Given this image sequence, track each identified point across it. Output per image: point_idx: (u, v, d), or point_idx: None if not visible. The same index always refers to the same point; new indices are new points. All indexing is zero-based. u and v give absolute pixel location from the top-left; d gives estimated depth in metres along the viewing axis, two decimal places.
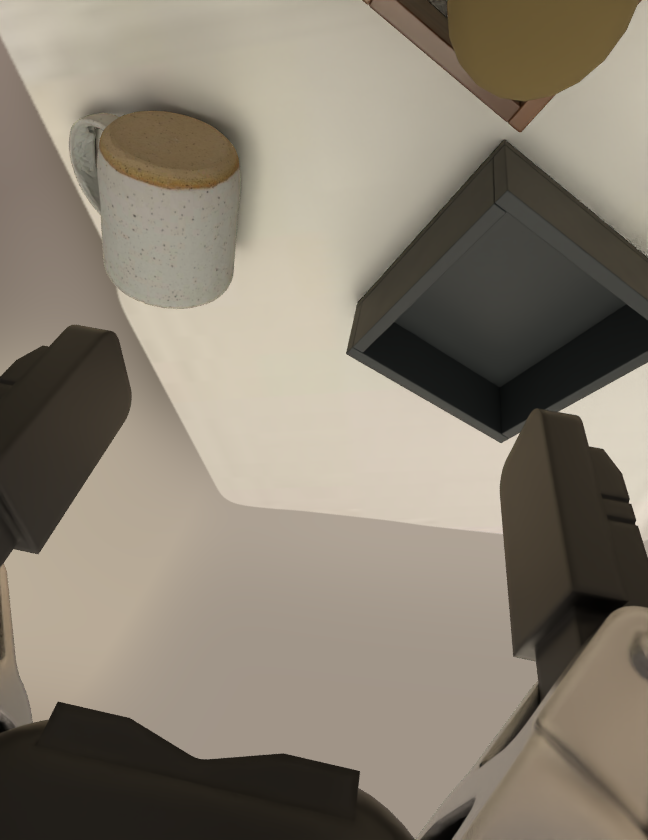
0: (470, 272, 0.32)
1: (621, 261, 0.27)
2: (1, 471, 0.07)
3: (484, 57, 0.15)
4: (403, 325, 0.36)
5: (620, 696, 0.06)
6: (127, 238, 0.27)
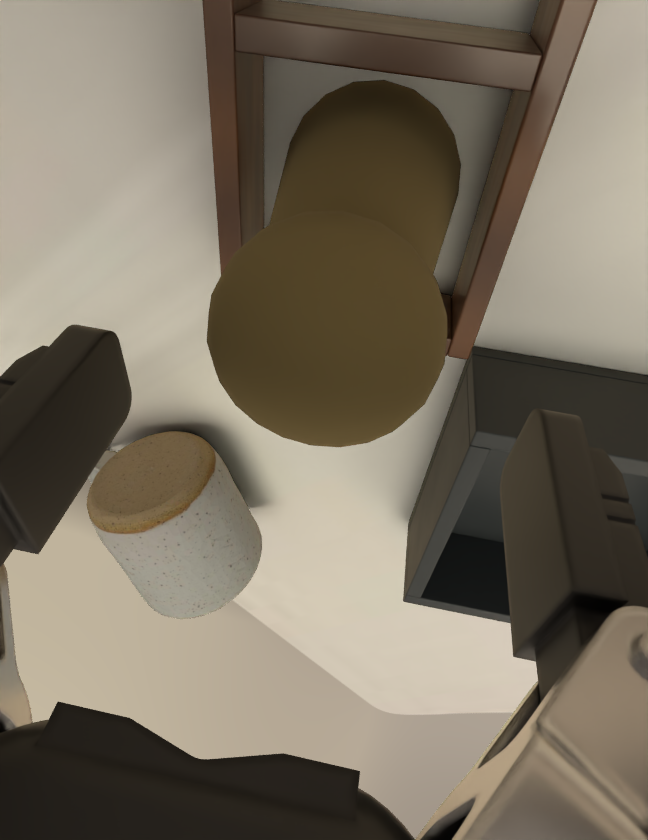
0: None
1: None
2: (1, 471, 0.07)
3: (286, 432, 0.12)
4: (469, 534, 0.30)
5: (620, 696, 0.06)
6: (133, 575, 0.26)
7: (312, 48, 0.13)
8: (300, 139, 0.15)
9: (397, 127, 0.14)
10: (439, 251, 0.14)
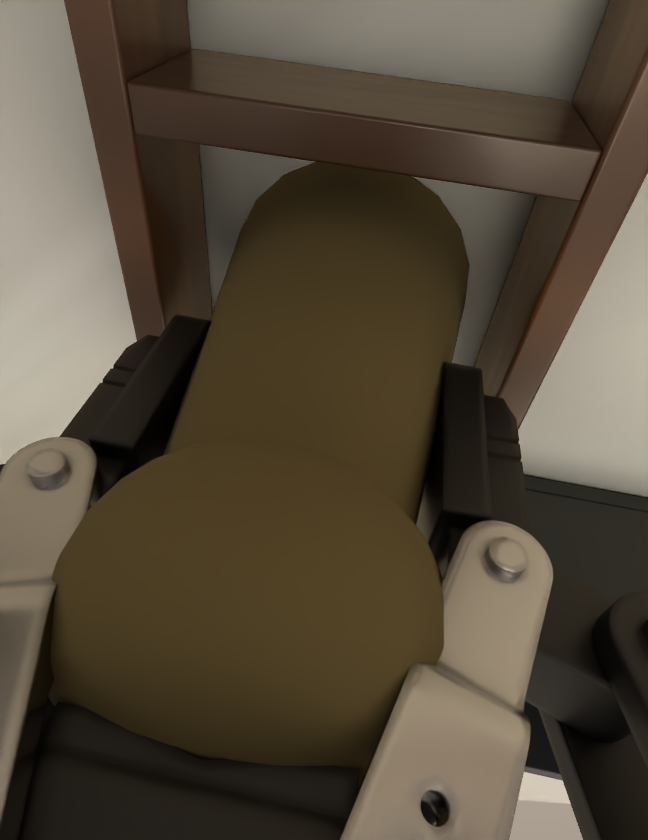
0: None
1: None
2: (139, 449, 0.08)
3: None
4: None
5: (465, 590, 0.06)
6: None
7: (247, 133, 0.09)
8: (244, 244, 0.11)
9: (379, 240, 0.10)
10: None
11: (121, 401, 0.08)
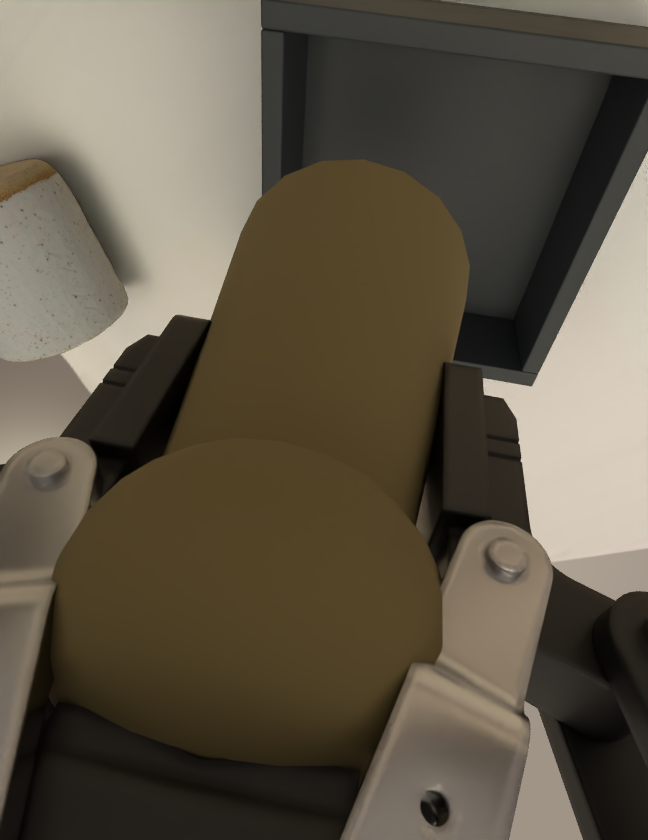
0: None
1: (513, 21, 0.17)
2: (139, 449, 0.08)
3: None
4: None
5: (464, 589, 0.06)
6: None
7: None
8: (245, 244, 0.11)
9: (379, 241, 0.10)
10: None
11: (121, 401, 0.08)
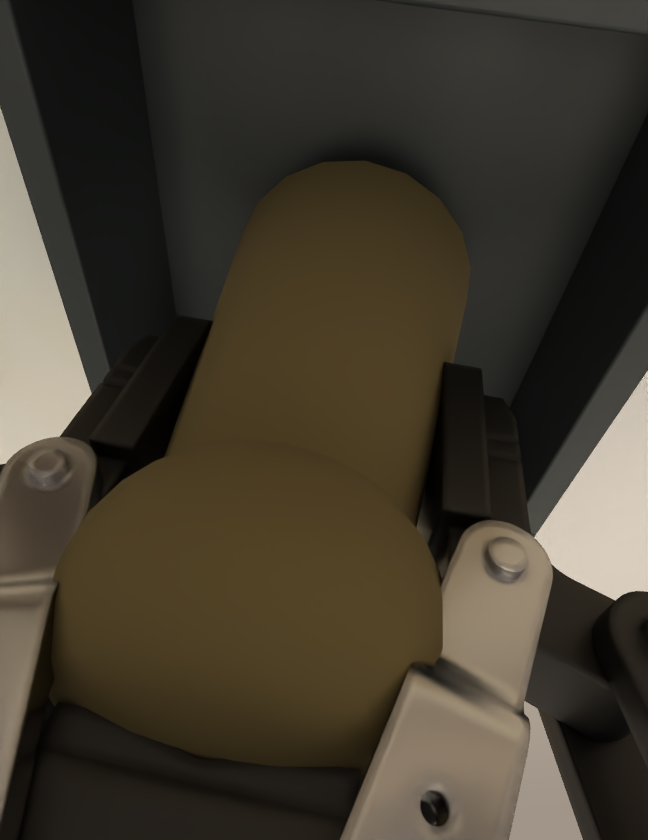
0: None
1: None
2: (139, 449, 0.08)
3: None
4: None
5: (464, 590, 0.06)
6: None
7: None
8: (246, 245, 0.11)
9: (379, 243, 0.10)
10: None
11: (121, 401, 0.08)
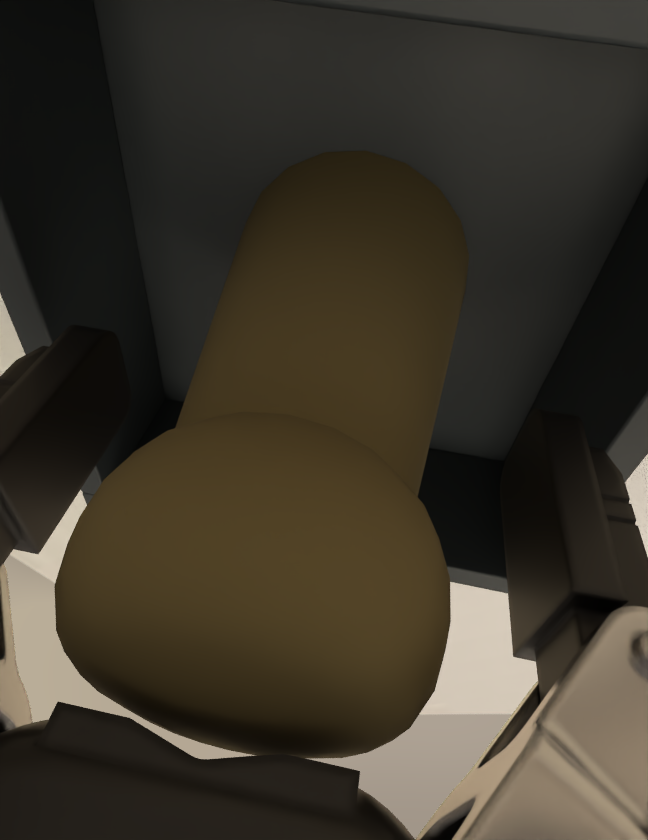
0: None
1: None
2: (1, 471, 0.07)
3: None
4: None
5: (620, 696, 0.06)
6: None
7: None
8: (250, 233, 0.11)
9: (380, 229, 0.10)
10: (439, 399, 0.10)
11: None
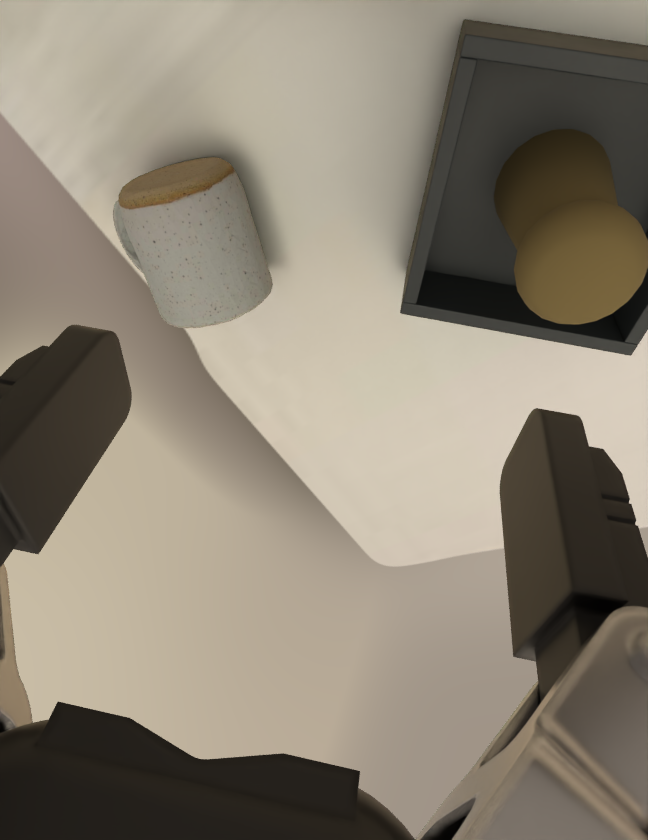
0: None
1: None
2: (1, 471, 0.07)
3: (555, 314, 0.22)
4: (461, 274, 0.33)
5: (620, 696, 0.06)
6: (158, 268, 0.29)
7: None
8: (526, 162, 0.26)
9: (592, 157, 0.25)
10: None
11: None
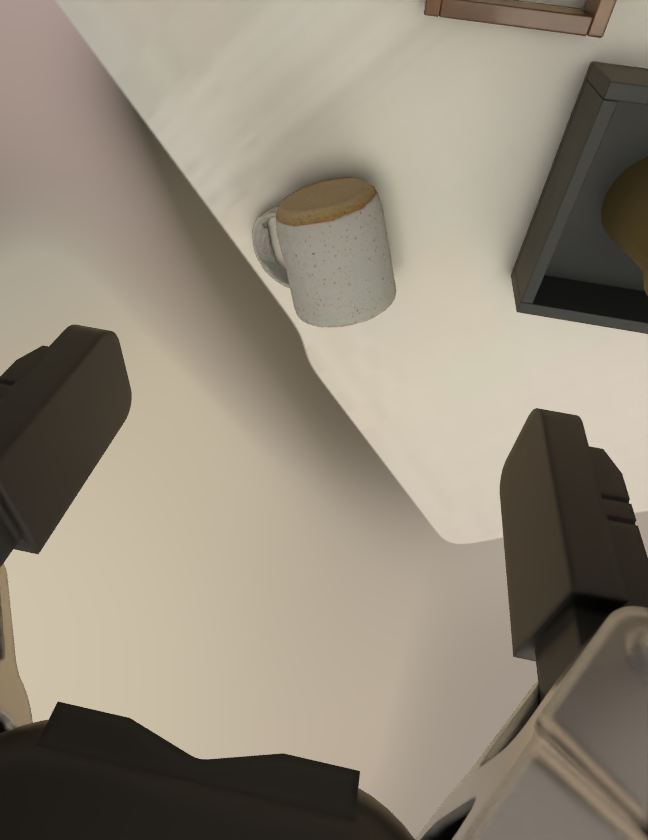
0: None
1: None
2: (1, 471, 0.07)
3: None
4: (562, 276, 0.38)
5: (620, 696, 0.06)
6: (311, 276, 0.34)
7: None
8: (641, 182, 0.31)
9: None
10: None
11: None
